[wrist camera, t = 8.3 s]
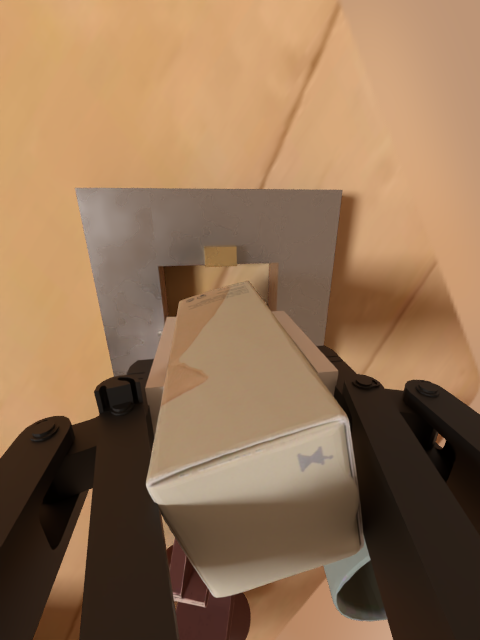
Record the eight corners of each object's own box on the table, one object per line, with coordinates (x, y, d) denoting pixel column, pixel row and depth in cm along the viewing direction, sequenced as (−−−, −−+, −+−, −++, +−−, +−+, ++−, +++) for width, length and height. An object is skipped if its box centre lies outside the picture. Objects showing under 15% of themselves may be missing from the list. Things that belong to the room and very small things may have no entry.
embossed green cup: (377, 395, 27) (500, 518, 16) (364, 467, 31) (456, 606, 20) (282, 408, 26) (344, 550, 15) (279, 481, 30) (328, 638, 19)
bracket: (212, 528, 27) (179, 698, 19) (256, 568, 36) (247, 692, 29) (160, 523, 29) (111, 676, 21) (215, 562, 38) (196, 676, 31)
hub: (129, 396, 23) (119, 423, 20) (91, 191, 17) (68, 186, 14) (306, 380, 25) (321, 402, 22) (325, 193, 19) (348, 188, 16)
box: (177, 299, 15) (131, 475, 5) (250, 278, 15) (356, 406, 5) (205, 374, 17) (213, 612, 7) (269, 355, 17) (372, 559, 7)
